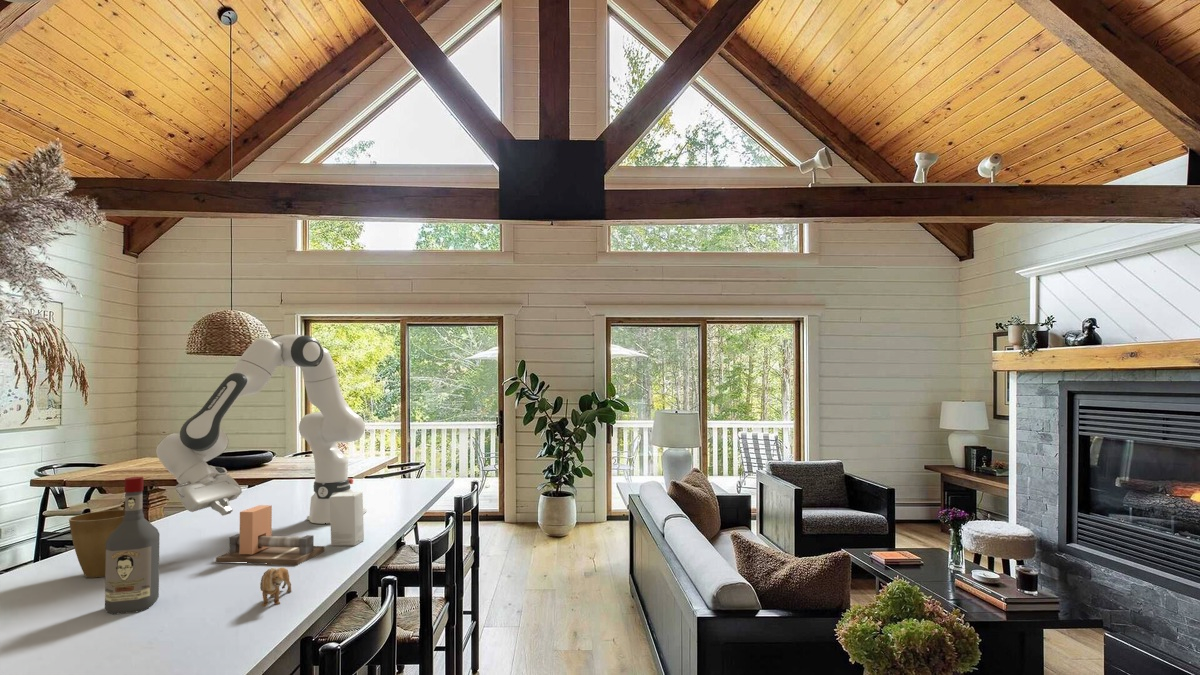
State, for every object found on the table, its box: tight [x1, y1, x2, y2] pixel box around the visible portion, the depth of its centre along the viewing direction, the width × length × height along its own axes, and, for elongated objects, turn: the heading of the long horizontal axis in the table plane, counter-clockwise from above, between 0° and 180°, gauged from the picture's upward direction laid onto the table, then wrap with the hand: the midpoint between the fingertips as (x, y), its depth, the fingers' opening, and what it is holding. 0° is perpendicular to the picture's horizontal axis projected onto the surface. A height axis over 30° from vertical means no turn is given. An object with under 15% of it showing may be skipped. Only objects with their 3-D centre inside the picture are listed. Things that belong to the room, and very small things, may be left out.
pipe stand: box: [215, 533, 325, 566], centre depth 196 cm, size 14×25×6 cm, turn 83°
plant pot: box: [68, 509, 125, 579], centre depth 182 cm, size 15×15×16 cm
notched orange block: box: [239, 504, 273, 554], centre depth 197 cm, size 9×4×12 cm, turn 173°
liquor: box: [104, 476, 160, 615], centre depth 157 cm, size 9×9×30 cm
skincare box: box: [329, 491, 365, 547], centre depth 210 cm, size 8×7×16 cm
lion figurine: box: [259, 567, 292, 607], centre depth 160 cm, size 15×5×9 cm, turn 15°
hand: (228, 513), depth 198 cm, fingers closed
